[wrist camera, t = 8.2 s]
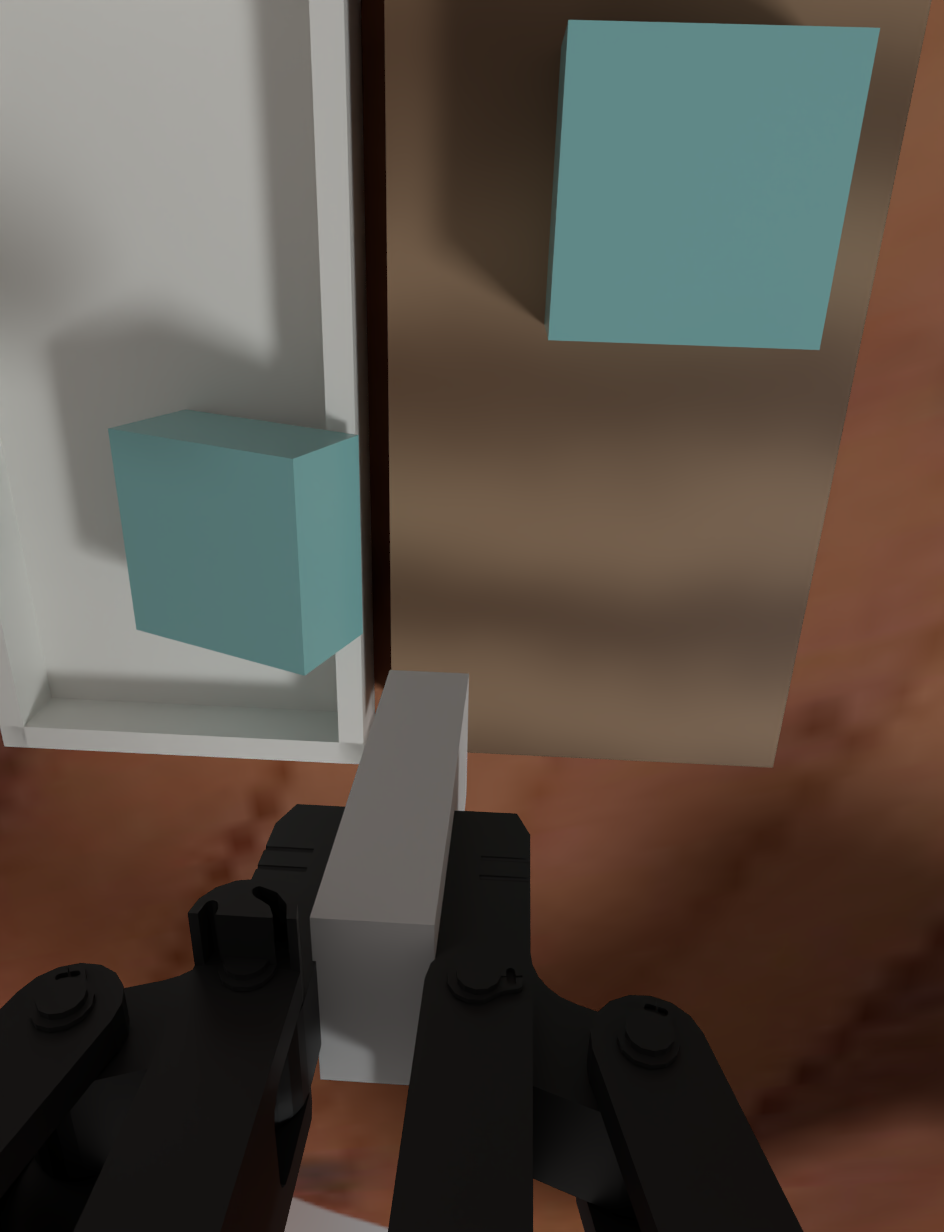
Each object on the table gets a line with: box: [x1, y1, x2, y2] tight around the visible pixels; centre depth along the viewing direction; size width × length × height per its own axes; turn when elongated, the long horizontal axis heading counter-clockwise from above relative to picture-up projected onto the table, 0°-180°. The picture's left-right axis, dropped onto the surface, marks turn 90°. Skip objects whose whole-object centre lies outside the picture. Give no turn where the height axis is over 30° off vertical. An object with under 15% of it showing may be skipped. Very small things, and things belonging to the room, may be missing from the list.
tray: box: [0, 0, 375, 764], centre depth 25 cm, size 24×12×2 cm, turn 178°
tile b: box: [544, 20, 880, 350], centre depth 20 cm, size 6×6×3 cm
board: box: [384, 0, 931, 768], centre depth 24 cm, size 22×12×3 cm, turn 178°
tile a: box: [108, 409, 363, 676], centre depth 25 cm, size 6×6×3 cm
